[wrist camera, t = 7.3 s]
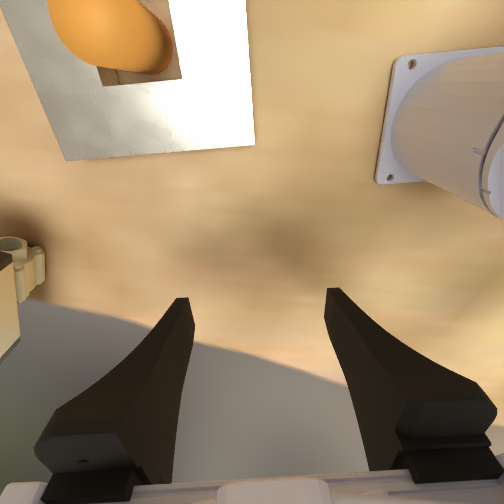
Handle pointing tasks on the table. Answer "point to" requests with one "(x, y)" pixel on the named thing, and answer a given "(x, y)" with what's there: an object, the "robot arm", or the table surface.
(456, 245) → the table surface
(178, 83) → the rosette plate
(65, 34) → the orange cylinder
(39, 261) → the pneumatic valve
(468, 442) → the robot arm
